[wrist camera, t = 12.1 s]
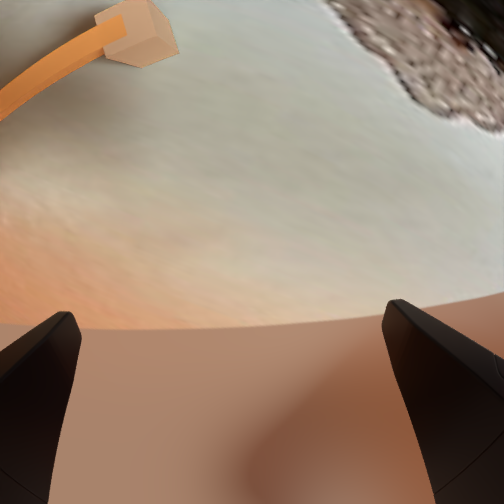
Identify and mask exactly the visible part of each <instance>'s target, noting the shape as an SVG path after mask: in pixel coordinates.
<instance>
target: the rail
mask: <svg viewBox="0 0 504 504" xmlns="http://www.w3.org/2000/svg"><path fill="white" fill-rule="evenodd" d="M94 17H95V21H96V25H97V26H95V27H93V28H92V29H90V30H88V31H86V32H84V33H82V34H81V35H79V36H77V37H75V38H74V39H72V40H70V41H69V42H67V43H65V44H64V45H62V46H61V47H59V48H57V49H56V50H54V51H53V52H51V53H50V54H48V55H47V56H45V57H44V58H42V59H41V60H39V61H38V62H36V63H35V64H34V65H32V66H31V67H29V68H28V69H27V70H25V71H24V72H23V73H21V74H20V75H19V76H17V77H16V78H15V79H13V80H12V81H11V82H10V83H8V84H7V85H6V86H5V87H4V88H2V89H1V90H0V121H1V120H3V119H4V118H5V117H6V116H8V115H9V114H10V113H11V112H13V111H14V110H15V109H17V108H18V107H19V106H21V105H22V104H24V103H25V102H26V101H28V100H29V99H30V98H32V97H33V96H35V95H36V94H38V93H39V92H41V91H42V90H44V89H45V88H47V87H48V86H50V85H51V84H53V83H54V82H56V81H58V80H59V79H61V78H63V77H64V76H66V75H68V74H69V73H71V72H73V71H74V70H76V69H78V68H80V67H81V66H83V65H85V64H87V63H89V62H90V61H92V60H94V59H96V58H98V57H100V56H102V55H104V54H105V56H106V58H107V59H111V60H115V61H119V62H122V63H126V64H129V65H133V66H136V67H140V68H143V67H145V66H148V65H150V64H152V63H155V62H157V61H160V60H163V59H165V58H168V57H171V56H173V55H176V54H179V51H178V48H177V45H176V42H175V38H174V35H173V32H172V29H171V26H170V23H169V20H168V19H167V18H166V17H165V16H164V14H163V13H162V12H161V11H160V10H159V9H158V8H157V7H156V5H155V4H154V3H153V2H152V1H151V0H125V1H123V2H120V3H118V4H116V5H114V6H112V7H110V8H108V9H106V10H104V11H102V12H100V13H98V14H96V15H94Z"/></svg>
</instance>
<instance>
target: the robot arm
mask: <svg viewBox="0 0 504 504" xmlns="http://www.w3.org/2000/svg"><path fill="white" fill-rule="evenodd" d="M382 332H383V335H384V339H385V343H386V346H387V350H388V354H389V357H390V361H391V365H392V368H393V371H394V375H395V378H396V381H397V383H398V386H399V389H400V391H401V394H402V397H403V400H404V402H405V405H406V407H407V411H408V413H409V416H410V419H411V422H412V425H413V428H414V431H415V434H416V437H417V440H418V443H419V447H420V450H421V453H422V456H423V459H424V462H425V466H426V469H427V473H428V476H429V480H430V483H431V487H432V491H433V493H434V499H435V503H436V504H504V359H502V358H501V357H499V356H498V355H496V354H495V355H494V353H492V352H491V351H489V350H487V349H486V348H484V347H483V346H481V345H479V344H478V343H476V342H475V341H473V340H471V339H470V338H468V337H466V336H465V335H463V334H461V333H460V332H458V331H456V330H455V329H453V328H451V327H450V326H448V325H446V324H444V323H443V322H441V321H439V320H438V319H436V318H434V317H432V316H430V315H429V314H427V313H426V312H424V311H422V310H420V309H419V308H417V307H415V306H414V305H412V304H410V303H408V302H407V301H405V300H403V299H396V300H390V301H389V302H388V303H387V306H386V310H385V313H384V317H383V321H382ZM81 340H82V337H81V332H80V330H79V327H78V325H77V322H76V320H75V318H74V315H73V314H72V313H71V312H69V311H59V312H57V313H56V314H54V315H53V316H51V317H50V318H48V319H47V320H45V321H44V322H42V323H41V324H39V325H38V326H36V327H35V328H33V329H32V330H30V331H29V332H27V333H26V334H25V335H23V336H22V337H20V338H19V339H17V340H16V341H14V342H13V343H12V344H10V345H9V346H7V347H6V348H5V349H3V350H2V351H0V504H48V499H49V491H50V485H51V479H52V472H53V467H54V462H55V456H56V451H57V447H58V442H59V437H60V432H61V428H62V424H63V420H64V416H65V412H66V408H67V404H68V400H69V396H70V393H71V389H72V385H73V381H74V375H75V370H76V365H77V360H78V355H79V350H80V346H81Z"/></svg>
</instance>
